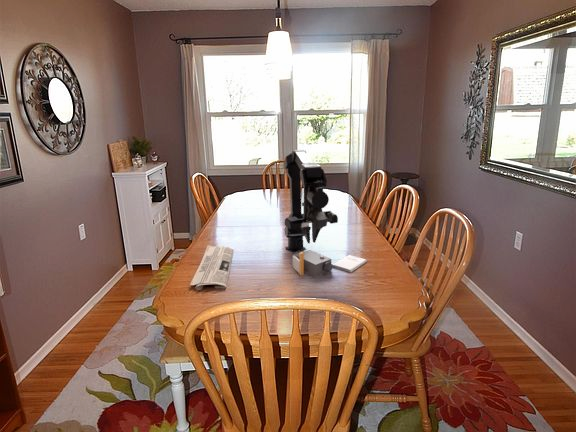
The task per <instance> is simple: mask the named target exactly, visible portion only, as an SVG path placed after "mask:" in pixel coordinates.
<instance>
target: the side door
mask: <svg viewBox="0 0 576 432" xmlns="http://www.w3.org/2000/svg"><path fill="white" fill-rule="evenodd" d="M303 252H304V251H301V252H300V251H299V259H298V258H297V257H296V256H295V254H292V260H291V261H292V263H291V265H292V267H291V268H293V269H294V270H295V271H296V272H297V273H298V275H300V276H304V274H305V272H304V253H303Z"/></svg>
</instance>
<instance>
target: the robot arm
mask: <svg viewBox="0 0 576 432" xmlns="http://www.w3.org/2000/svg"><path fill="white" fill-rule="evenodd" d="M322 167H323V166H321V165H320V164H318V163H315V162H313V161H312V160H311V159H310V157H309V156H308V154H307V151H306V150H304V149H294V150H292V151H291V153H289V154H288V155H286V156H285V157H284V161H283V168H284V169H285V173H286V175H287V177H288V179H289V194H290V195H289V196H290V198H289V199H290V214H289V216H287V217H286V218H285V219H284V236H286V238H287V242H288V243H287V246H285V249H286V250H288V251H291V252H292V253H297V252H300V251H301V252H302V251H303V250H306V247H305V246H304V237H305V240H306V242H307V244H310V243H311V238H312V243H313V244H314V243H316V241H317V239H318V236H319V233H320V231H321V230H322V229H323V228H324V227H327V225H328V223H329V224H337V223H338V222H339V216H338V215H337V214H336V213H334V212H332V211H331V210H327V211H323V209H324V208H325V207H326V206H327V205H328V204H329V199H330V198H329V195H328V194H327V193H326V192H325V191H324V187H325V188H326V187H327V182H328V181H327V177H326V173H325V171H324V168H322ZM302 188H303V202H302ZM302 207H303V213H302ZM310 224H311V226H310Z"/></svg>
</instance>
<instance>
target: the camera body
mask: <svg viewBox="0 0 576 432" xmlns="http://www.w3.org/2000/svg"><path fill="white" fill-rule="evenodd" d="M302 252H303V253H304V273H306V274H308V275H309V276H312V277H314V278H317V277H320V276H322V275H326V274H327V273H330V272H332V270H333V267H332V265H333V264H332V258H330V257H328V256H327V255H326V256H325V255H324V254H321V253H319V252H316V251H314V250H312V249H308V250H305V251H302ZM299 253H300V252H299ZM299 253H296V254H294V255H295V256H296V257H297V258H298V259H299Z"/></svg>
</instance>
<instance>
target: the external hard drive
mask: <svg viewBox="0 0 576 432" xmlns="http://www.w3.org/2000/svg"><path fill="white" fill-rule="evenodd" d="M367 261H368V260H367V259H365V258H362V257H359V256H355V255H351V254H349V255H346V256H345V257H342V258H341V259H340V260H338V261H336V262H335V263H333V264H332V268H334V269H337V270H341V271H345V272H347V273H353V272H354V271H355V270H356V269H358V268H359V267H361V266H363V265H364V264H366V263H367Z"/></svg>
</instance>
